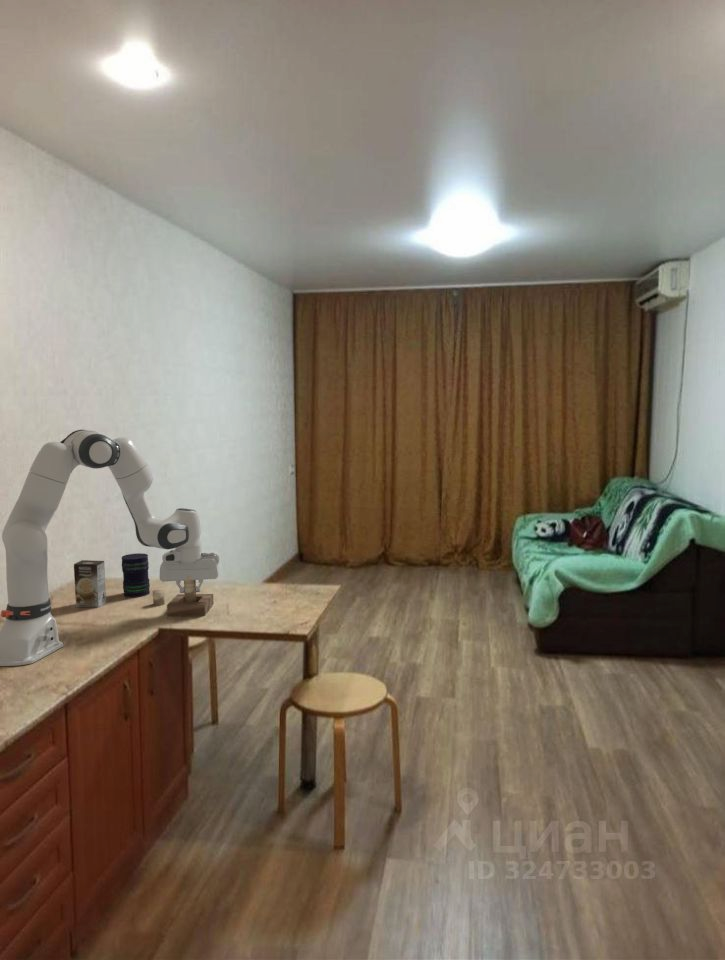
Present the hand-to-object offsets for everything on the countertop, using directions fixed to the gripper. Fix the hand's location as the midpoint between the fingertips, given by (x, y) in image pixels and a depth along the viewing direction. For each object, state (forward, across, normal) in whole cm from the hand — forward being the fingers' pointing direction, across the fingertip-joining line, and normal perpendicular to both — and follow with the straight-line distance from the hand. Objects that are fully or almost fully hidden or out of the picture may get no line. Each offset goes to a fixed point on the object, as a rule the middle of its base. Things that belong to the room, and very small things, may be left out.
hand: (190, 592), depth 242 cm
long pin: (+6, 0, 0) cm, 6 cm away
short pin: (+7, +13, -10) cm, 17 cm away
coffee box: (+7, +37, -14) cm, 40 cm away
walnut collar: (+7, 0, 0) cm, 7 cm away
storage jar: (+7, +23, -26) cm, 35 cm away
